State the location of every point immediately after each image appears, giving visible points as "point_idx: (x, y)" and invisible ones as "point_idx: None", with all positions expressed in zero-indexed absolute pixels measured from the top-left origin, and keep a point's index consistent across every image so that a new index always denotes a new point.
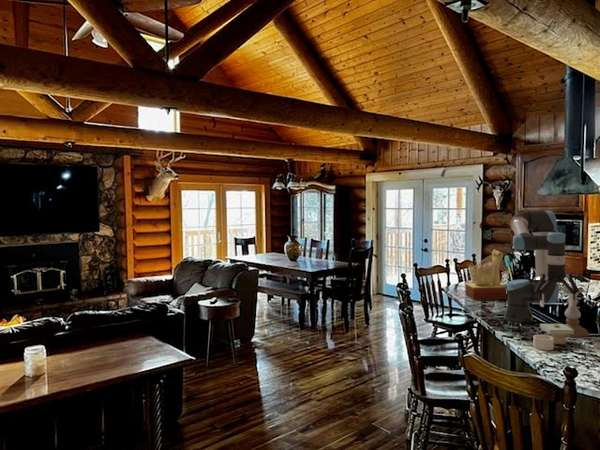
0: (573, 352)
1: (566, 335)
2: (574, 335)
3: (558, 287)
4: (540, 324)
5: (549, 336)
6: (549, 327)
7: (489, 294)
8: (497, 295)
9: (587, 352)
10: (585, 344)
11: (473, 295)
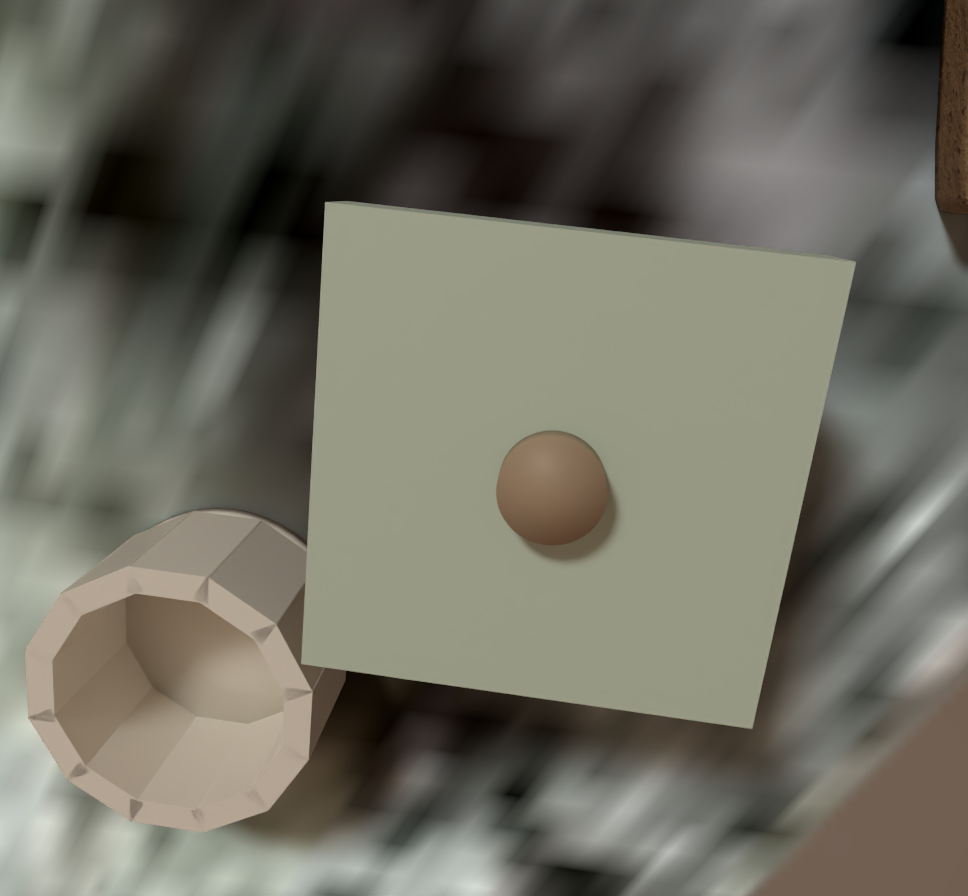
0: (507, 837)
1: (943, 115)
2: None
3: None
4: (324, 236)
5: (281, 685)
6: (383, 508)
7: None
8: None
9: (680, 862)
10: (907, 581)
11: None
